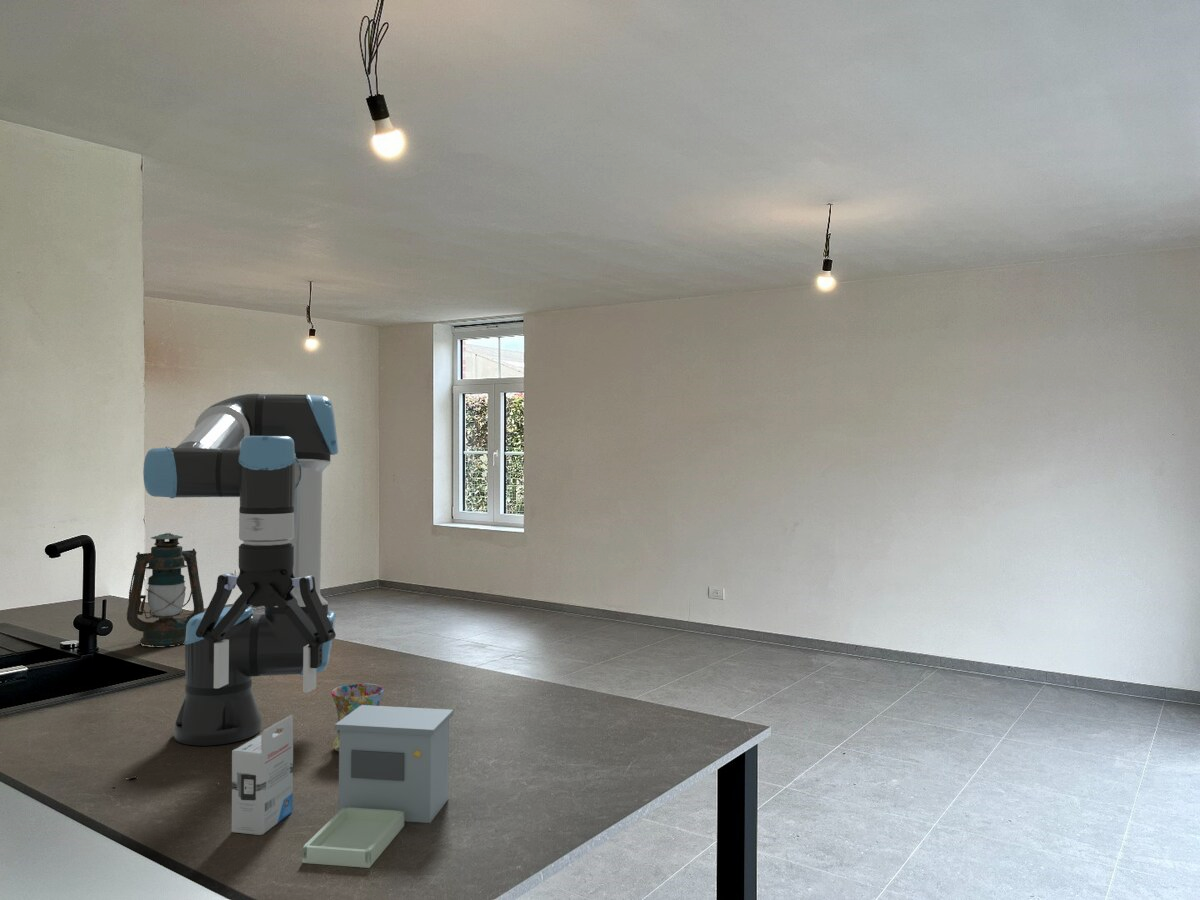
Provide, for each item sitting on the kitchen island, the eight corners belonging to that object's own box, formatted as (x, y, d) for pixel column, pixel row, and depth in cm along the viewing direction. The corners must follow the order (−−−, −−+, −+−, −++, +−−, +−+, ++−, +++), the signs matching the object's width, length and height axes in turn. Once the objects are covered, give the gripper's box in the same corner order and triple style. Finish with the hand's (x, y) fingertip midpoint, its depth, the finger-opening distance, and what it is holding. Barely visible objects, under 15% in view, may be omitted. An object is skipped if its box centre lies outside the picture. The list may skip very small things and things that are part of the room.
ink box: (264, 809, 136) (265, 711, 136) (293, 812, 135) (294, 713, 135) (229, 833, 127) (230, 728, 127) (261, 836, 126) (262, 731, 126)
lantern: (132, 651, 234) (133, 536, 234) (119, 642, 245) (120, 532, 245) (210, 641, 247) (211, 532, 247) (194, 633, 258) (195, 528, 258)
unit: (333, 817, 133) (334, 724, 133) (360, 792, 143) (361, 704, 143) (432, 824, 131) (433, 729, 131) (452, 797, 141) (453, 709, 141)
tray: (302, 862, 119) (302, 846, 119) (343, 821, 132) (343, 806, 132) (369, 867, 117) (369, 851, 117) (404, 825, 130) (404, 811, 130)
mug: (393, 749, 163) (394, 690, 162) (345, 761, 156) (346, 700, 156) (361, 733, 171) (361, 677, 171) (314, 744, 165) (315, 686, 165)
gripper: (171, 542, 129) (169, 691, 129) (338, 546, 126) (336, 699, 126) (200, 537, 136) (199, 677, 136) (359, 541, 133) (357, 685, 133)
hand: (265, 688), depth 131 cm, fingers open, 13 cm apart
